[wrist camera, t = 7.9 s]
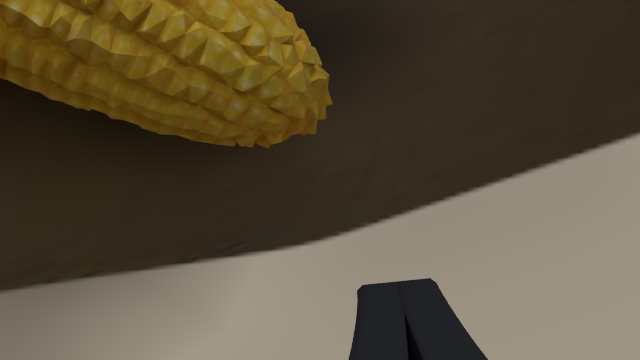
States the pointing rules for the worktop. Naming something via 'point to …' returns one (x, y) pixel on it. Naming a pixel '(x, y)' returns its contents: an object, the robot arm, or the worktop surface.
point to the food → (171, 65)
